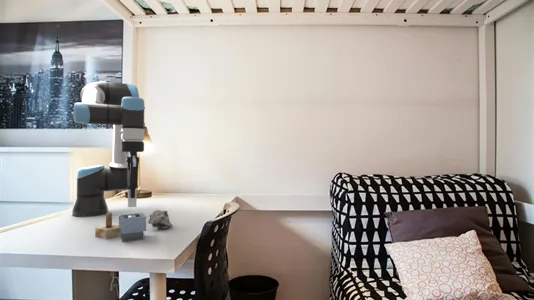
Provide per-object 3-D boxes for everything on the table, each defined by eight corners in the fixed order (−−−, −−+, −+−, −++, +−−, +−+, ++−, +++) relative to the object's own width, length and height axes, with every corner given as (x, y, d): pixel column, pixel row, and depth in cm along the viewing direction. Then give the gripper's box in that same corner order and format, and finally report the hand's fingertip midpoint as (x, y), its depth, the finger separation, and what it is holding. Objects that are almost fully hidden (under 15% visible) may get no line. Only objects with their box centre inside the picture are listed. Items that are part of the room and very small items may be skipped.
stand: (95, 236, 111) (95, 214, 111) (111, 232, 117) (111, 211, 117) (105, 238, 108) (105, 216, 108) (122, 234, 114) (122, 213, 114)
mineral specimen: (167, 240, 124) (147, 231, 126) (179, 224, 129) (158, 216, 132) (162, 228, 117) (141, 219, 119) (174, 211, 122) (153, 203, 125)
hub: (120, 237, 110) (120, 215, 110) (140, 234, 114) (141, 213, 114) (122, 242, 105) (122, 218, 105) (143, 239, 108) (143, 216, 108)
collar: (118, 228, 110) (118, 215, 110) (142, 226, 115) (142, 212, 115) (121, 234, 104) (121, 219, 104) (146, 231, 108) (146, 216, 108)
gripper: (119, 140, 113) (119, 204, 113) (122, 140, 102) (122, 211, 102) (141, 141, 117) (140, 202, 117) (146, 140, 105) (146, 209, 106)
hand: (132, 206), depth 110 cm, fingers closed
